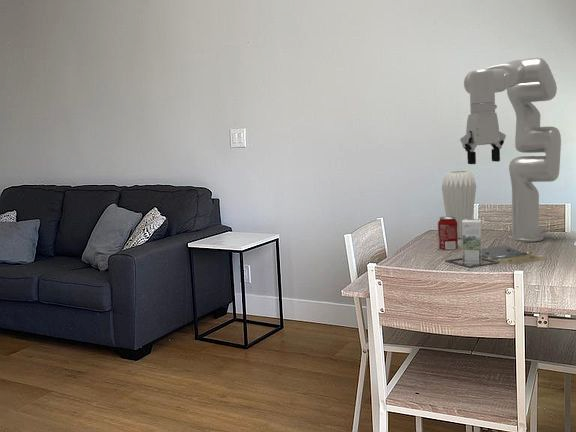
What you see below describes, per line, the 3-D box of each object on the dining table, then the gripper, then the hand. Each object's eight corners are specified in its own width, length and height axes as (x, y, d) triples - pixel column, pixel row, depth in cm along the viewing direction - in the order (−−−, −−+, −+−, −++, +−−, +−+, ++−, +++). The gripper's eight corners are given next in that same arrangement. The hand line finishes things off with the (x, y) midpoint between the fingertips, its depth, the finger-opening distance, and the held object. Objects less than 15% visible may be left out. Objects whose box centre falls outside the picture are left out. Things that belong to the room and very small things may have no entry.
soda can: (458, 252, 216) (457, 218, 214) (438, 252, 217) (438, 219, 216) (457, 248, 222) (456, 216, 221) (438, 248, 224) (437, 216, 222)
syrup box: (481, 263, 196) (481, 218, 195) (481, 266, 191) (480, 220, 189) (463, 262, 198) (462, 218, 196) (462, 266, 193) (461, 221, 191)
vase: (458, 241, 237) (457, 173, 234) (435, 237, 249) (434, 172, 246) (484, 237, 243) (483, 171, 240) (460, 233, 255) (459, 170, 252)
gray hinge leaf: (504, 247, 212) (505, 243, 211) (526, 256, 202) (527, 252, 202) (471, 252, 206) (472, 248, 206) (493, 262, 197) (493, 257, 197)
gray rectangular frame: (474, 259, 202) (474, 256, 202) (499, 265, 191) (499, 261, 191) (445, 264, 198) (445, 260, 197) (469, 270, 187) (469, 266, 187)
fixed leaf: (528, 255, 204) (528, 251, 204) (553, 260, 194) (553, 256, 194) (485, 262, 197) (485, 257, 197) (509, 267, 188) (509, 262, 187)
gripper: (495, 108, 202) (497, 160, 204) (453, 111, 195) (454, 164, 198) (512, 107, 195) (513, 160, 197) (468, 110, 188) (469, 165, 191)
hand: (483, 162), depth 198 cm, fingers open, 9 cm apart
